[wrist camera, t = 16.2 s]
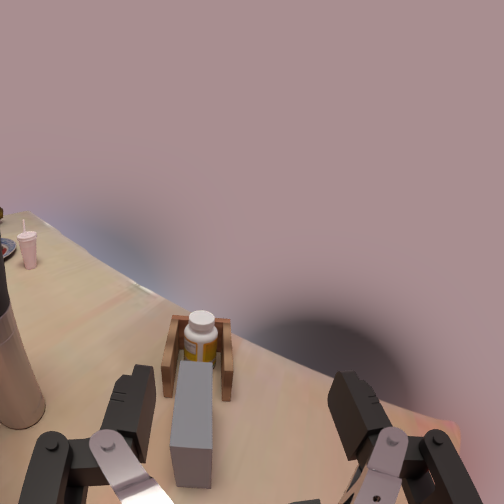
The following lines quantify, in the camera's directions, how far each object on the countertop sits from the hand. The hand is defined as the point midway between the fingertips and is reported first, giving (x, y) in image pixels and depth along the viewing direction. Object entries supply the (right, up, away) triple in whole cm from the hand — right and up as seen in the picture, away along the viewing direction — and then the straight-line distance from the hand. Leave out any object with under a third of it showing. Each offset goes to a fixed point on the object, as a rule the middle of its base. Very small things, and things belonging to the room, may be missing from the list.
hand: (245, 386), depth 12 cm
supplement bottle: (-9, -13, +37) cm, 40 cm away
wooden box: (-9, -14, +35) cm, 39 cm away
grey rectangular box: (-7, -19, +21) cm, 29 cm away
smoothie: (-63, +1, +59) cm, 86 cm away
